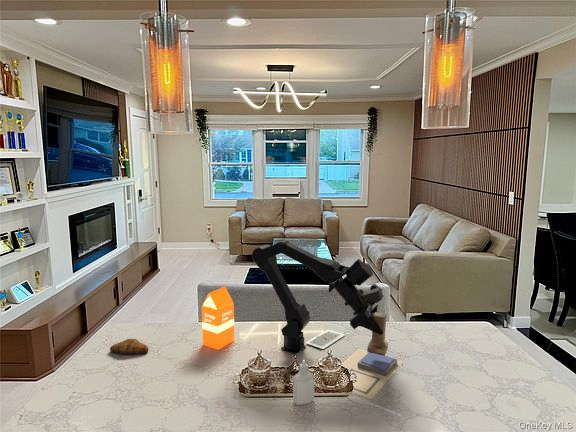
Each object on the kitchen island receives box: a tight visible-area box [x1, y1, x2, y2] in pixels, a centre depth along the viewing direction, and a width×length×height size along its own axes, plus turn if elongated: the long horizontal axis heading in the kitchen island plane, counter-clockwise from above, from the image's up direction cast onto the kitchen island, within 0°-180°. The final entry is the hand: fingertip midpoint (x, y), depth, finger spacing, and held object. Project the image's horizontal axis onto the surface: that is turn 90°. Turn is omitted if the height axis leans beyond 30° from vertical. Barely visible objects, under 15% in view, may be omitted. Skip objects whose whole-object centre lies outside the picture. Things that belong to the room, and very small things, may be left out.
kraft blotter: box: [341, 348, 404, 400], centre depth 126 cm, size 16×26×1 cm, turn 145°
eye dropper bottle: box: [292, 359, 315, 406], centre depth 109 cm, size 4×6×12 cm
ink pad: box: [358, 353, 398, 376], centre depth 129 cm, size 10×10×2 cm
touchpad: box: [304, 329, 346, 350], centre depth 148 cm, size 8×15×2 cm, turn 141°
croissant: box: [109, 338, 149, 356], centre depth 138 cm, size 14×7×5 cm, turn 86°
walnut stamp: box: [366, 311, 389, 356], centre depth 128 cm, size 6×6×12 cm
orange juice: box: [201, 286, 235, 350], centre depth 144 cm, size 8×9×20 cm
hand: (383, 331), depth 127 cm, fingers closed on walnut stamp, 3 cm apart
